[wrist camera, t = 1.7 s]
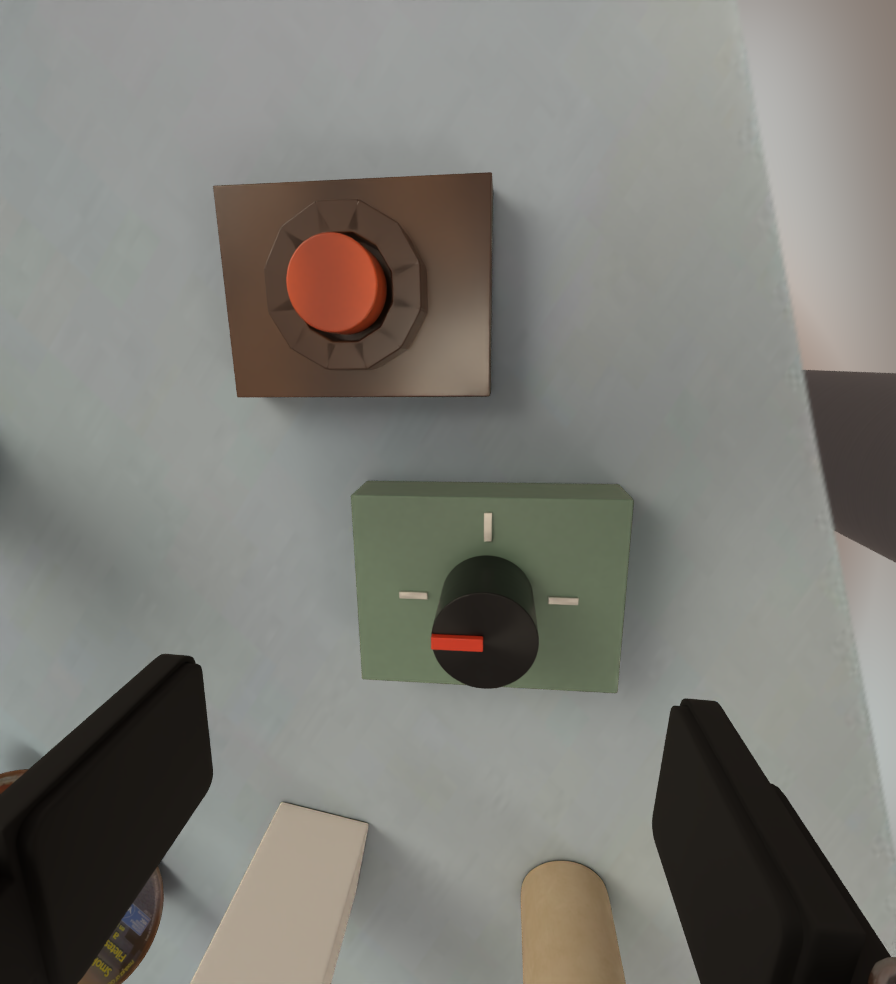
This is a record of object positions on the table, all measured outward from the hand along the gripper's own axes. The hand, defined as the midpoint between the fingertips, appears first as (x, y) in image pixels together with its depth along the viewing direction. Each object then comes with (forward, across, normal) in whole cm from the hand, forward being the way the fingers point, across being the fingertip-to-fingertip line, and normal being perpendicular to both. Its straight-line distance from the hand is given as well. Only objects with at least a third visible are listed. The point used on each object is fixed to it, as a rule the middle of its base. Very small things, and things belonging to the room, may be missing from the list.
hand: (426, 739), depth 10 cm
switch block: (+17, +6, -10) cm, 21 cm away
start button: (+14, +6, -10) cm, 18 cm away
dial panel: (+17, -1, +4) cm, 18 cm away
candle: (+17, -7, +26) cm, 32 cm away
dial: (+14, -1, +4) cm, 15 cm away
